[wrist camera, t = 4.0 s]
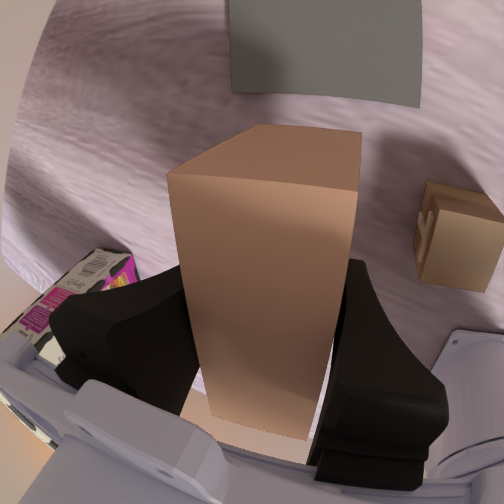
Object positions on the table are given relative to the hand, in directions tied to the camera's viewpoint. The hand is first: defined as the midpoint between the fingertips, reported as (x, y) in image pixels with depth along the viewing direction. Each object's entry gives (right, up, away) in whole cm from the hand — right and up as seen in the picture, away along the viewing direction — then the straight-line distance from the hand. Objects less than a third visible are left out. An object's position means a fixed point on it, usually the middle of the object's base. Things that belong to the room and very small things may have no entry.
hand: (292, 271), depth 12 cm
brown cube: (+10, +3, +4) cm, 11 cm away
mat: (+2, +14, 0) cm, 14 cm away
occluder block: (+1, +1, +2) cm, 2 cm away
